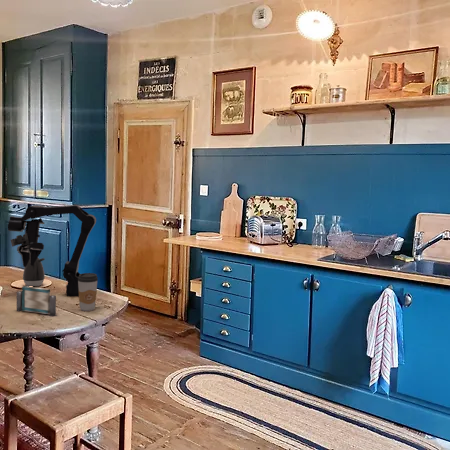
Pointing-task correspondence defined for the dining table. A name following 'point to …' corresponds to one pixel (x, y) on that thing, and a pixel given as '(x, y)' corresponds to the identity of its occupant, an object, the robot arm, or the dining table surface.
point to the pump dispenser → (34, 273)
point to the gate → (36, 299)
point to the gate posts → (52, 303)
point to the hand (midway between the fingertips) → (27, 266)
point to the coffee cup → (87, 291)
